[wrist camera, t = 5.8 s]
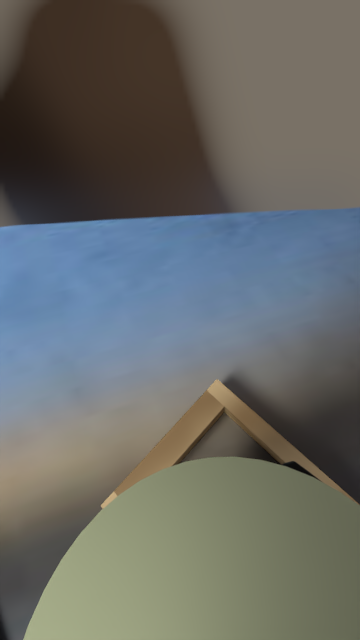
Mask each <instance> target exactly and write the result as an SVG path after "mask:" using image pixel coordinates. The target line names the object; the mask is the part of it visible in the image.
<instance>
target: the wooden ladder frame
mask: <svg viewBox="0 0 360 640" xmlns="http://www.w3.org/2000/svg"><path fill="white" fill-rule="evenodd" d="M224 412H225V413H226V414H227V415H228V416H229V417H230V418H231V419H232V420H234V421H235V422H236V423H237V424H238V425H239V426H240V427H241V428H242V429H243V430H244V431H245V432H246V433H248V434H249V435H250V436H251V437H252V438H253V439H254V440H255V441H256V442H257V443H258V444H259V445H260V446H262V447H263V448H264V449H265V450H266V451H267V452H268V453H269V454H270V455H271V456H272V457H273V458H274V459H276V460H277V461H278V462H279V463H280V464H281V465H282V464H283V463H286V462H290V461H295V462H297V463H298V464H299V465H301V466H302V467H303V468H305V469H306V470H307V471H309V472H310V473H311V474H313V475H314V476H315V477H317V478H318V479H319V480H321V481H322V482H323V483H325V484H327V485H328V486H330V487H332V488H334V489H336V490H338V491H339V492H341V493H343V494H344V495H345V496H347V497H348V498H350V499H351V500H353V501H354V502H355V503H357V502H356V501H355V500H354V499H353V498H352V497H351V496H349V495H348V494H347V493H346V492H345V491H344V490H343V489H341V488H340V487H339V486H338V485H337V484H336V483H335V482H333V481H332V480H331V479H330V478H329V477H328V476H327V475H326V474H324V473H323V472H322V471H321V470H320V469H319V468H318V467H316V466H315V465H314V464H313V463H312V462H311V461H310V460H308V459H307V458H306V457H305V456H304V455H303V454H302V453H300V452H299V451H298V450H297V449H296V448H295V447H294V446H293V445H291V444H290V443H289V442H288V441H287V440H286V439H285V438H283V437H282V436H281V435H280V434H279V433H278V432H277V431H275V430H274V429H273V428H272V427H271V426H270V425H269V424H268V423H266V422H265V421H264V420H263V419H262V418H261V417H260V416H258V415H257V414H256V413H255V412H254V411H253V410H252V409H250V408H249V407H248V406H247V405H246V404H245V403H244V402H242V401H241V400H240V399H239V398H238V397H237V396H236V395H235V394H233V393H232V392H231V391H230V390H229V389H228V388H227V387H225V386H224V385H223V384H222V383H221V382H220V381H219V380H216V381H215V382H214V383H213V384H212V385H211V386H210V387H209V388H208V389H207V390H206V392H205V393H204V394H203V395H202V396H201V397H200V398H199V399H198V400H197V401H196V402H195V403H194V405H193V406H192V407H191V408H190V409H189V410H188V411H187V412H186V413H185V414H184V415H183V417H182V418H181V419H180V420H179V421H178V422H177V423H176V424H175V425H174V426H173V427H172V429H171V430H170V431H169V432H168V433H167V434H166V435H165V436H164V437H163V438H162V439H161V441H160V442H159V443H158V444H157V445H156V446H155V447H154V448H153V449H152V450H151V451H150V453H149V454H148V455H147V456H146V457H145V458H144V459H143V460H142V461H141V462H140V463H139V464H138V466H137V467H136V468H135V469H134V470H133V471H132V472H131V473H130V474H129V475H128V476H127V478H126V479H125V480H124V481H123V482H122V483H121V484H120V485H119V486H118V487H117V488H116V490H115V491H114V492H113V493H112V494H111V495H110V496H109V497H108V498H107V499H106V500H105V502H104V503H103V504H102V505H101V507H102V508H103V509H104V508H105V507H106V506H107V505H108V504H109V503H110V502H112V501H113V500H114V499H115V498H116V497H117V496H118V495H120V494H121V493H123V492H124V491H125V490H127V489H128V488H130V487H131V486H133V485H134V484H136V483H137V482H139V481H140V480H142V479H144V478H146V477H148V476H150V475H152V474H154V473H156V472H158V471H160V470H162V469H165V468H168V467H171V466H174V465H177V464H179V463H180V462H181V461H182V460H183V458H184V457H185V456H186V455H187V454H188V453H189V452H190V450H191V449H192V448H193V447H194V446H195V445H196V444H197V442H198V441H199V440H200V439H201V438H202V437H203V436H204V434H205V433H206V432H207V431H208V430H209V429H210V428H211V426H212V425H213V424H214V423H215V422H216V421H217V420H218V418H219V417H220V416H221V415H222V414H223V413H224ZM357 504H358V505H360V504H359V503H357Z"/></svg>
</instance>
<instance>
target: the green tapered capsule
mask: <svg viewBox="0 0 360 640" xmlns="http://www.w3.org/2000/svg"><path fill="white" fill-rule="evenodd" d="M24 640H360V505H358V504H357V503H355V502H354V501H353V500H351V499H350V498H348V497H347V496H345V495H344V494H343V493H341V492H339V491H338V490H336V489H334V488H332V487H330V486H328V485H327V484H325V483H323V482H321V481H319V480H317V479H316V478H314V477H312V476H309V475H307V474H304V473H302V472H299V471H296V470H294V469H291V468H289V467H286V466H283V465H279V464H275V463H271V462H267V461H263V460H259V459H250V458H241V457H209V458H204V459H198V460H192V461H186V462H183V463H180V464H177V465H174V466H171V467H168V468H165V469H162V470H160V471H158V472H156V473H154V474H152V475H150V476H148V477H146V478H144V479H142V480H140V481H139V482H137V483H136V484H134V485H133V486H131V487H130V488H128V489H127V490H125V491H124V492H123V493H121V494H120V495H118V496H117V497H116V498H115V499H114V500H113V501H112V502H110V503H109V504H108V505H107V506H106V507H105V508H104V509H103V510H101V511H100V512H99V513H98V514H97V515H96V517H95V518H94V519H93V520H92V521H91V522H90V523H89V524H88V526H87V527H86V528H85V529H84V530H83V531H82V532H81V533H80V535H79V536H78V537H77V539H76V540H75V542H74V543H73V544H72V546H71V547H70V549H69V550H68V551H67V553H66V554H65V556H64V557H63V558H62V560H61V561H60V563H59V565H58V567H57V569H56V570H55V572H54V574H53V576H52V577H51V579H50V581H49V583H48V584H47V586H46V588H45V590H44V592H43V594H42V596H41V598H40V601H39V603H38V605H37V607H36V609H35V612H34V614H33V616H32V618H31V621H30V623H29V625H28V628H27V631H26V634H25V637H24Z"/></svg>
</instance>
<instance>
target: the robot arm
mask: <svg viewBox="0 0 360 640" xmlns="http://www.w3.org/2000/svg"><path fill="white" fill-rule="evenodd" d="M282 465H283V466H286V467H289V468H291V469H294V470H296V471H299V472H302V473H304V474H307V475H309V476H312V477H314V478H316V479H317V480H319V479H318V478H317V477H315V476H314V475H313V474H311V473H310V472H309V471H307V470H306V469H305V468H303V467H302V466H301V465H299V464H298V463H297V462H295V461H290V462H286V463H283V464H282ZM319 481H321V480H319ZM321 482H322V481H321Z"/></svg>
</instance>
